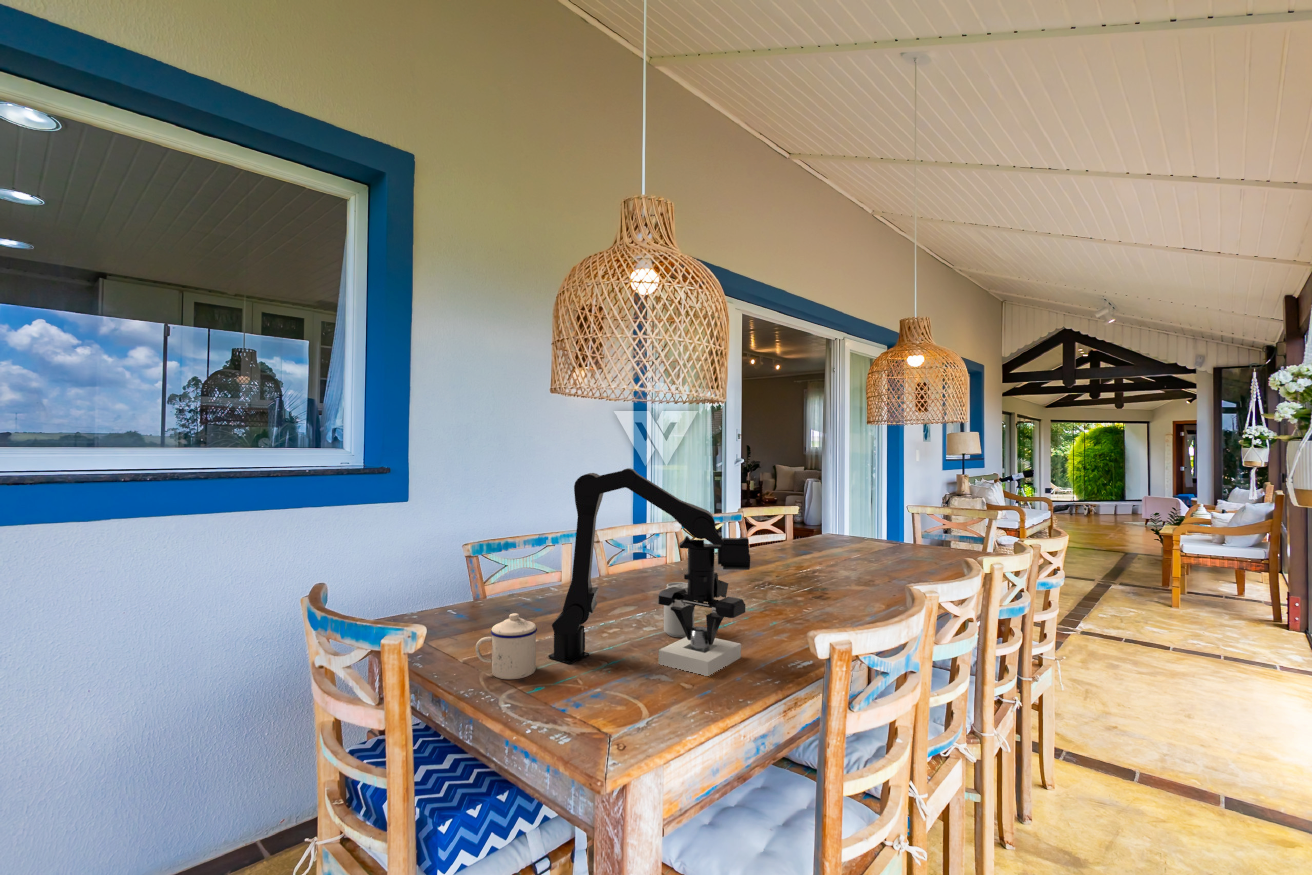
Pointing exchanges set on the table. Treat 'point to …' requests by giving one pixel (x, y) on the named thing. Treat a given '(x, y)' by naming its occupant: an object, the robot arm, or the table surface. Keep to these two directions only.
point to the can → (674, 615)
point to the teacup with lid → (511, 648)
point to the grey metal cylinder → (699, 639)
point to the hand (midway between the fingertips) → (700, 641)
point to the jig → (700, 656)
